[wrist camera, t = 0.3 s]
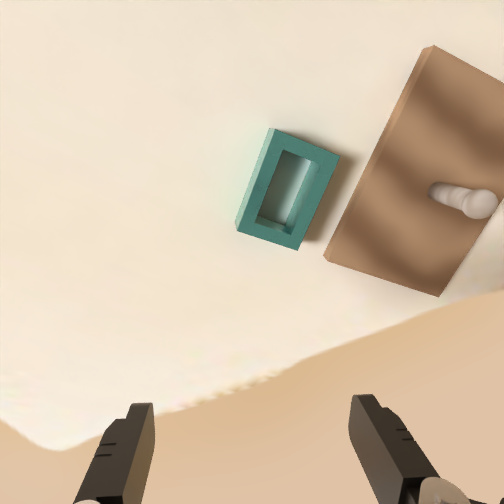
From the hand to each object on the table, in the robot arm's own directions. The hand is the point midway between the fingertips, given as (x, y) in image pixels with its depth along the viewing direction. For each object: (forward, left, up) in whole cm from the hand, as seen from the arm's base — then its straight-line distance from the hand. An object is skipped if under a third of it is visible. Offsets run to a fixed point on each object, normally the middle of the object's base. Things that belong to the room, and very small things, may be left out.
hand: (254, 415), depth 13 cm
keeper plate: (-11, +17, -21) cm, 29 cm away
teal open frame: (-6, +3, -21) cm, 22 cm away
